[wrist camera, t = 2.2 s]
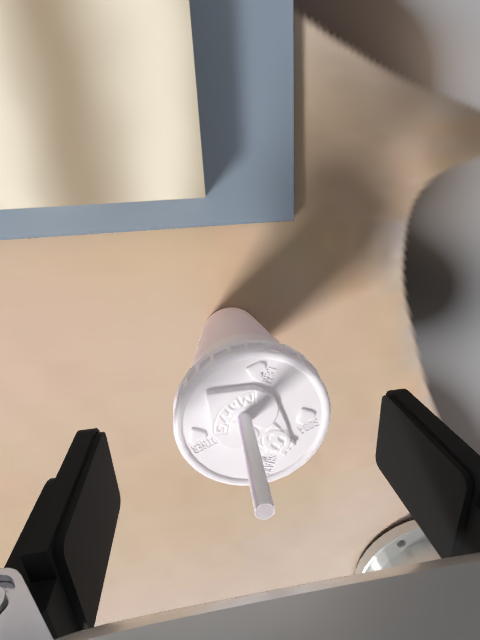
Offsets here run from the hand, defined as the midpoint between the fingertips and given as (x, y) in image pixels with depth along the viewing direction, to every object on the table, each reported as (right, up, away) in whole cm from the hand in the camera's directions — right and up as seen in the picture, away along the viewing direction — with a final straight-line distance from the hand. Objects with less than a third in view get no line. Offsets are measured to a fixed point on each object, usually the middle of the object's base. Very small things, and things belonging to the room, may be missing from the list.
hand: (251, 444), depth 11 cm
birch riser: (-8, +15, +6) cm, 18 cm away
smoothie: (-1, +3, +11) cm, 12 cm away
